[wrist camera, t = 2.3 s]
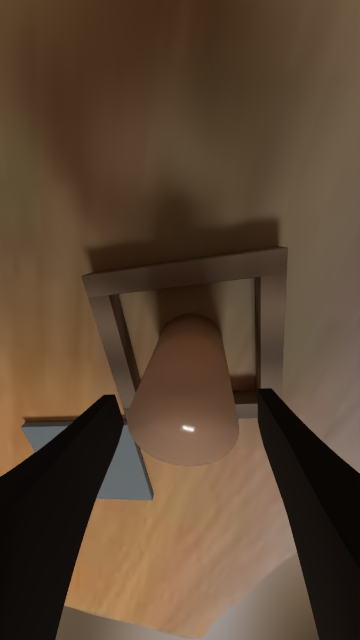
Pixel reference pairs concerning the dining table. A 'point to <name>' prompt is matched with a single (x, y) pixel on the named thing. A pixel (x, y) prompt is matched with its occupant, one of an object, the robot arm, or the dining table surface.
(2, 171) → the dining table surface
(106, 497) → the rubber mat
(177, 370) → the terracotta cylinder
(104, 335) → the frame
